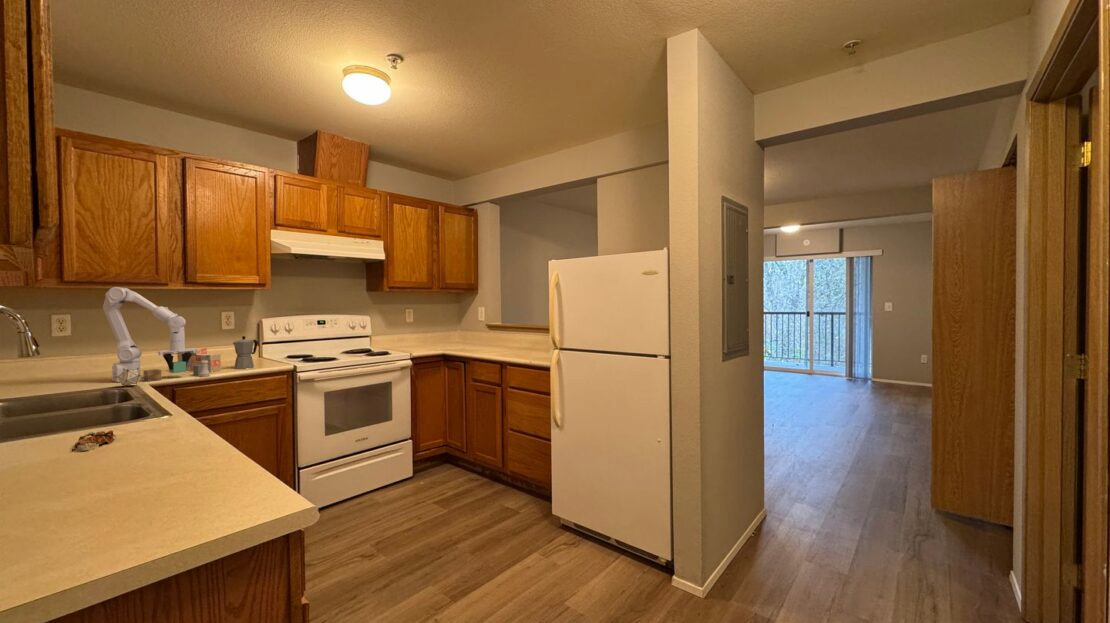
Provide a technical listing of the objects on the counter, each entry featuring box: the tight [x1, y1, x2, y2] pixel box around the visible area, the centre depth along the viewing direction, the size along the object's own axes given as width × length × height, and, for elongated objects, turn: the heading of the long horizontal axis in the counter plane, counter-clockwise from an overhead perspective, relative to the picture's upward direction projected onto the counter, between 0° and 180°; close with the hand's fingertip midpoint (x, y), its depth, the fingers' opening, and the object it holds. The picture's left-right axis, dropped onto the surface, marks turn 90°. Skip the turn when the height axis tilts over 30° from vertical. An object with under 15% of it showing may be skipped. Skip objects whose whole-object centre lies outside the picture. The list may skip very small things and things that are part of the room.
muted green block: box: [168, 360, 187, 374], centre depth 229 cm, size 5×5×5 cm
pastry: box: [71, 429, 117, 453], centre depth 117 cm, size 7×12×4 cm, turn 34°
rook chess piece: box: [199, 360, 211, 378], centre depth 232 cm, size 4×4×8 cm
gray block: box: [192, 365, 211, 377], centre depth 238 cm, size 5×5×5 cm
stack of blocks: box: [176, 347, 222, 373], centre depth 252 cm, size 21×6×12 cm, turn 78°
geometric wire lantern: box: [116, 368, 144, 386], centre depth 204 cm, size 9×8×10 cm
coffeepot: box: [232, 335, 259, 370], centre depth 263 cm, size 15×9×18 cm, turn 165°
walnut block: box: [142, 368, 162, 383], centre depth 220 cm, size 5×5×5 cm
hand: (177, 368), depth 229 cm, fingers closed on muted green block, 5 cm apart
